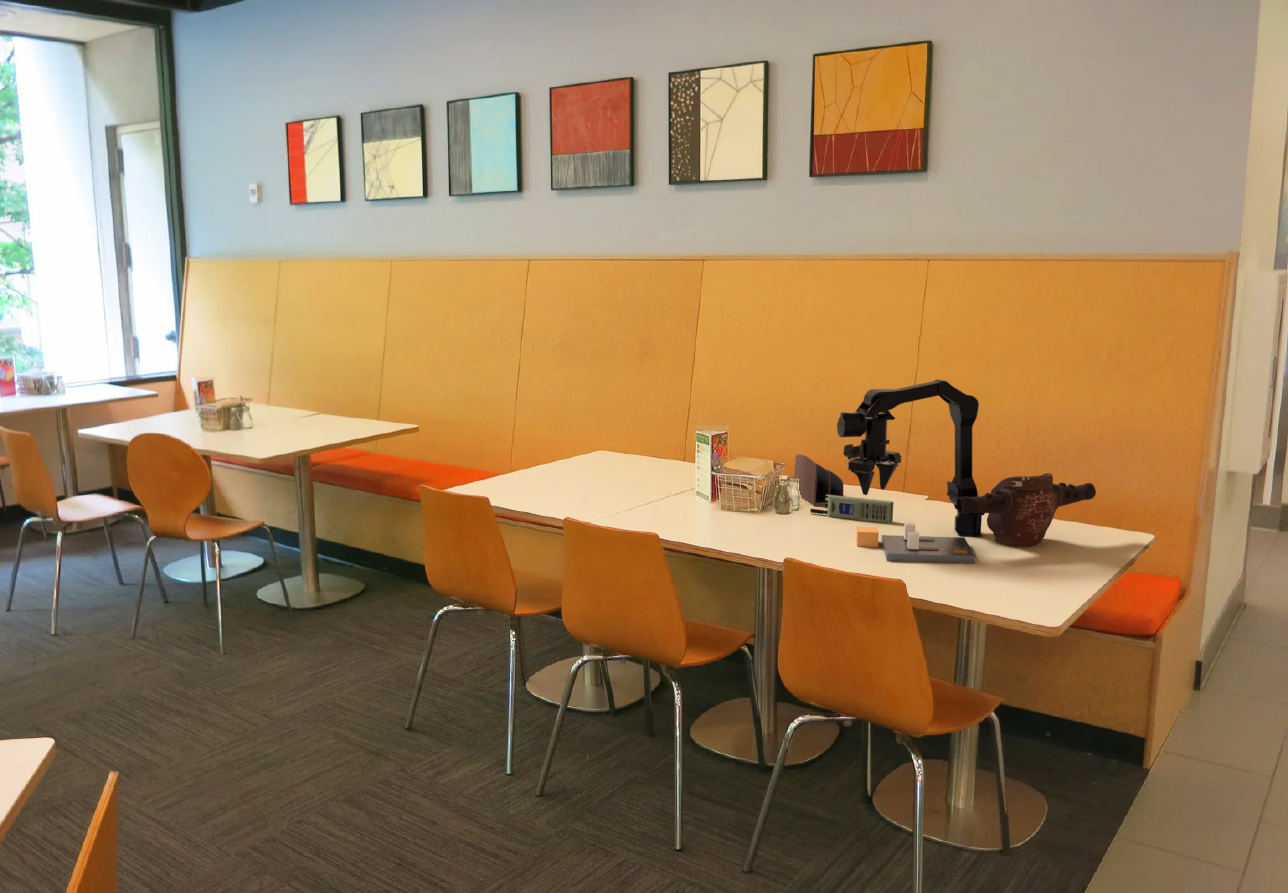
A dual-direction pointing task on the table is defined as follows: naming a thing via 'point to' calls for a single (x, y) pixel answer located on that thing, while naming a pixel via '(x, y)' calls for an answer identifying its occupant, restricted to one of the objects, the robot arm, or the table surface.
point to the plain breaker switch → (908, 529)
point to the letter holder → (816, 481)
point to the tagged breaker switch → (913, 540)
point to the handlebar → (1024, 507)
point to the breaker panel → (928, 550)
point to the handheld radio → (857, 509)
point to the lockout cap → (867, 536)
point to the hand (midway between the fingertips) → (873, 492)
